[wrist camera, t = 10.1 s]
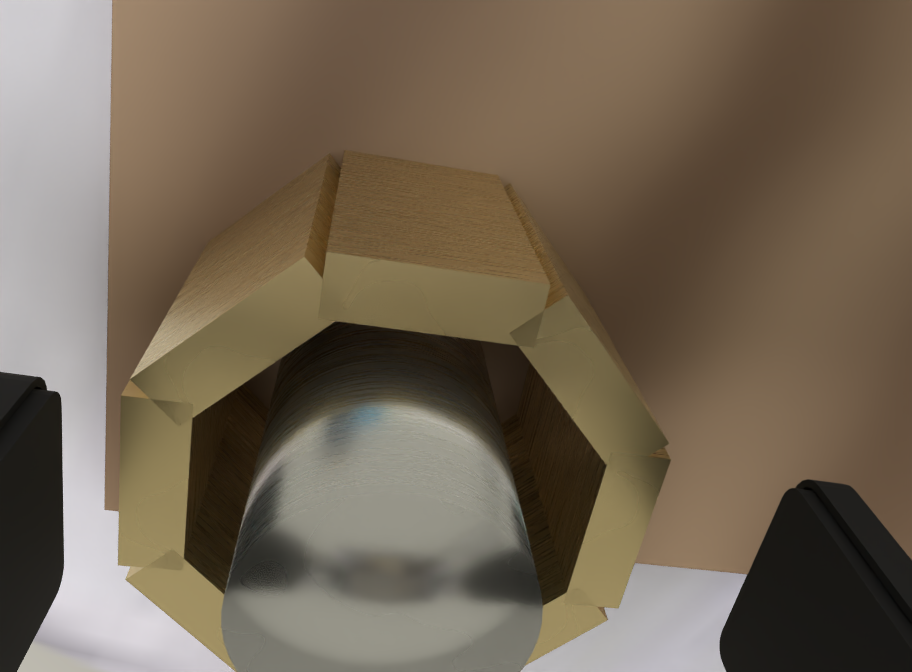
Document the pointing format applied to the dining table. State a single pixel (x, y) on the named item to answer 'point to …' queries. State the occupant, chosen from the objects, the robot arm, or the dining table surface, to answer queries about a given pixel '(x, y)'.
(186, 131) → the board
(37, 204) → the dining table surface
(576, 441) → the ring
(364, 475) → the piston post
